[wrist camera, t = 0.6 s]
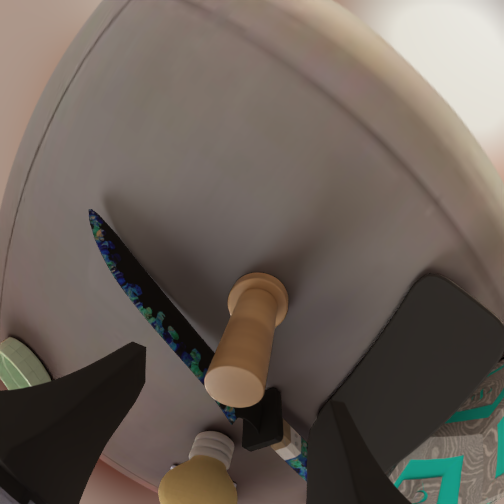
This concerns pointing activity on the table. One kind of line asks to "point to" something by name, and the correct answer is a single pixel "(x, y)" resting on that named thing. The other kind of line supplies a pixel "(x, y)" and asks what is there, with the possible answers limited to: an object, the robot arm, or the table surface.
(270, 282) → the pestle
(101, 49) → the table surface
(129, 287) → the knife
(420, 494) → the sculpture
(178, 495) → the light bulb
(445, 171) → the table surface
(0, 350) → the bowl
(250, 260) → the table surface
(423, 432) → the smartphone
